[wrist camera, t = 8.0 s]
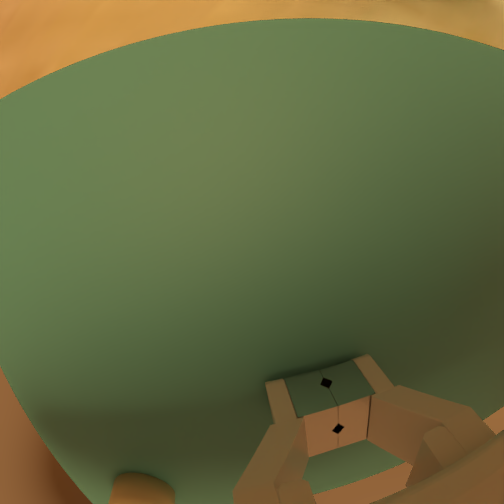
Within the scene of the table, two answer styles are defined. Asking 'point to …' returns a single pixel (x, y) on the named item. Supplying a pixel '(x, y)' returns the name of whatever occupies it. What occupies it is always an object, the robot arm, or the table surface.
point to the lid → (247, 242)
